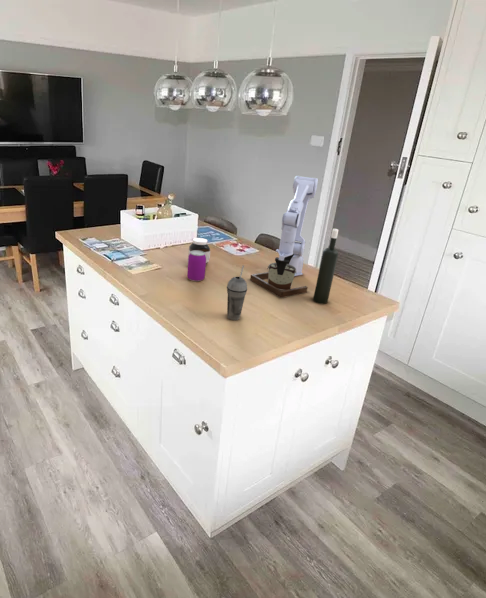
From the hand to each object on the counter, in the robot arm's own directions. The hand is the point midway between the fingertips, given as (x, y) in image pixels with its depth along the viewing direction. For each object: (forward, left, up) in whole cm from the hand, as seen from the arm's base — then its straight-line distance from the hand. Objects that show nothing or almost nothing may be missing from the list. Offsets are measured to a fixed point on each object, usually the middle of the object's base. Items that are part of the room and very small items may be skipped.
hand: (282, 271), depth 177 cm
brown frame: (0, -1, -7) cm, 7 cm away
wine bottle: (-6, +18, -7) cm, 20 cm away
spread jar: (+20, -36, -7) cm, 42 cm away
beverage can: (+30, -21, -7) cm, 37 cm away
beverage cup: (+36, +16, -7) cm, 40 cm away
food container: (0, 0, -7) cm, 7 cm away
